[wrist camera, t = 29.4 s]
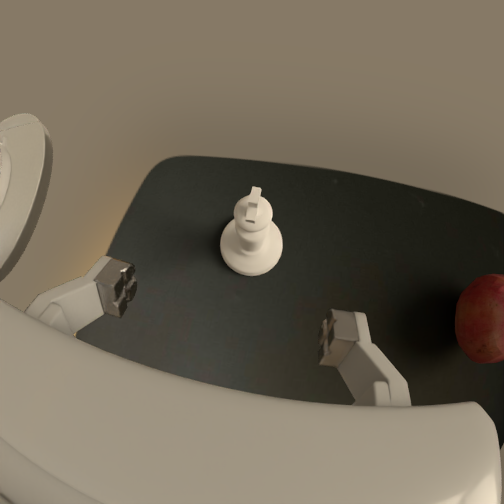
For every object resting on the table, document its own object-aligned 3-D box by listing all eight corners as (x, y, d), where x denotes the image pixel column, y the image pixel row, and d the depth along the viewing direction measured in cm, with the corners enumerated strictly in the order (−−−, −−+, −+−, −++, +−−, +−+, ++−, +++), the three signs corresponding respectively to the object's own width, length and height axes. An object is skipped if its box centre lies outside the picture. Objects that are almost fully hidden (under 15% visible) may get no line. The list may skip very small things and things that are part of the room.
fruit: (431, 360, 21) (506, 377, 11) (439, 275, 22) (515, 258, 12) (482, 355, 21) (549, 362, 11) (488, 281, 22) (555, 268, 12)
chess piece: (286, 221, 23) (313, 162, 13) (276, 281, 22) (299, 261, 12) (227, 210, 23) (213, 145, 13) (214, 269, 22) (188, 240, 12)
